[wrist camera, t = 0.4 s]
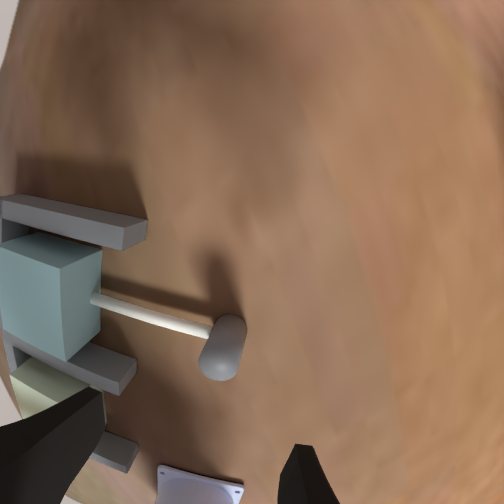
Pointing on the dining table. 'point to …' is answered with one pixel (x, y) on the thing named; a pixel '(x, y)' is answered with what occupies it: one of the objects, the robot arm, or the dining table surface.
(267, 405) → the dining table surface
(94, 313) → the teal block with cord
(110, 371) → the lane rack
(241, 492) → the robot arm
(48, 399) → the sage block
